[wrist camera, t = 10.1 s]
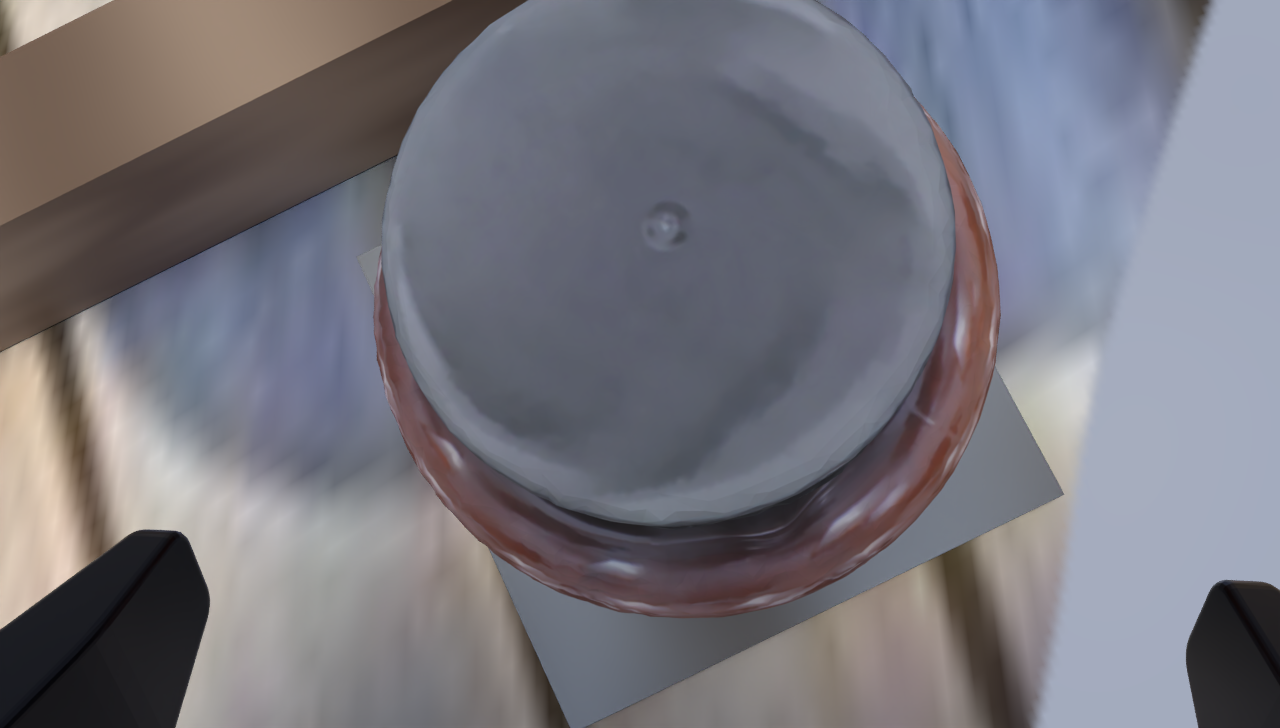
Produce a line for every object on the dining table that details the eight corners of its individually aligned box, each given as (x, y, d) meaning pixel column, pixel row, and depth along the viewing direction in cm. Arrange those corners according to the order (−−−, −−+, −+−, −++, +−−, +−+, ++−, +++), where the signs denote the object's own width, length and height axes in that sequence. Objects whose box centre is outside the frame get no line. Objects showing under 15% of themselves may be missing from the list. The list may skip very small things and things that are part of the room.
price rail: (-247, 1129, 18) (-511, 1301, 15) (-471, 432, 20) (-760, 416, 16) (1134, 457, 18) (1249, 446, 14) (776, -190, 20) (789, -359, 16)
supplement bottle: (596, 172, 19) (415, -288, 8) (925, 276, 18) (1235, -64, 7) (480, 496, 19) (110, 493, 7) (815, 615, 18) (967, 813, 7)
